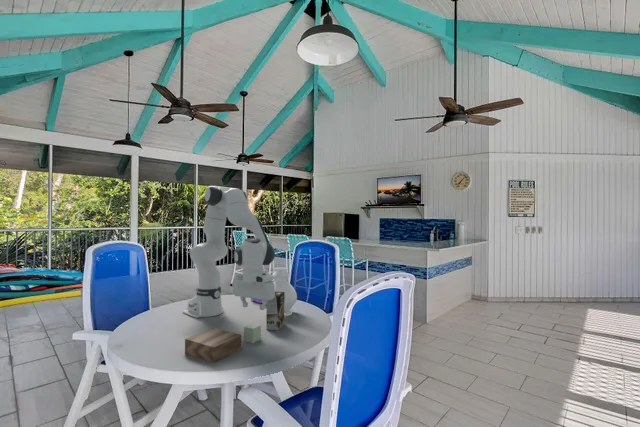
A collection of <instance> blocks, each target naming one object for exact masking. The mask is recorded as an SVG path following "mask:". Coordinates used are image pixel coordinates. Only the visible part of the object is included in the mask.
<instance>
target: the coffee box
mask: <svg viewBox="0 0 640 427" xmlns="http://www.w3.org/2000/svg"><path fill="white" fill-rule="evenodd" d="M284 293H285V292H275V297H274V298H273V299H271V300H267V304H266V314H265V315H266V318H265V319H266V325H265V326H266V328H265V329H266V330H269V331H271V330H272V331H279V330H280V329H282V327H283V326H284V325H285V317H284Z"/></svg>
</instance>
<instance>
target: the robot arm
mask: <svg viewBox="0 0 640 427" xmlns="http://www.w3.org/2000/svg"><path fill="white" fill-rule="evenodd" d="M204 201H205V203H206V204H207V205H208V206H207V209H206V212H205V217H204V222H203V228H202V231H203V232H204V234H205V238H206V239H205V240H206V241H205V242H202V243H198V244H196V245H194V246H193V247H191V249H190V251H189V257H190V259H191V261H192V262H193V264H195V265H196V268H197V272H198V288H196V289H195V292H196V294H195V295H194V296H193V297H192V298H191V299H189V300H188V302H187V308H186V309H183V310H182V313H183V314H185V315H187V316H191V317H193V318H195V319H197V318H208V317H215V316H218V315H219V316H220V315H221V314H223V312H224V307H223V304H222V303H223V302H222V295H221V293H222V287H221V273H220V271H219V269H217V265H216V262H217V261H220V260H222V259H223V258H225V257H226V256H227V254H228V252H229V251H228V246H227V245H226V242H225V229H226V224H227V220H228V221H229V222H230V223H231V224H232V225H234V226H236V227H240V228H244V229H247V230H249V231H250V232H251V233H253V235H254V237H249V238H248V237H247V238H246V239H244V240H243V243H242V244H241V245H238V246H237V247H236V248H235V249H234V251H233V262H234V263H235V264H236V265H237V266H239V267H242V274H237V275H236V276H235V277H234V285H233V295H234V296H235V297H238V298H239V297H240V301H241V303H242V307H243V308H248V306H249V302H247V299H246V298H248V299H251V298H255V299H262V302H263V303H262V304H260V305H259V310H261V311H264V310H266V306H267V304H266V303H267V300H271V299H273V298H274V297H275V287H274V283H273V282H274V277H273V275H272V274H271V273H269V272H266V271H265V269H264V266H269V265H270V264H272V262H273V261H274V259H275V257H276V254H275V248H274V247H273V246H272V244H271V242H270V241H269V238H268V236H267V234H266V232H265V230H264V227H263V225H262V223H261V220H260V219H259V217H258V216H257V215H255V214H254V213H253V212H252V211H251V209H250V208H249V203H248V196H247V194H246V192H245V191H244V190H242V189H240V188H237V187H229V186H217V185H209V186H208V187H207V188H206V189H205V192H204Z"/></svg>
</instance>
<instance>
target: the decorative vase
mask: <svg viewBox="0 0 640 427" xmlns="http://www.w3.org/2000/svg"><path fill="white" fill-rule="evenodd" d="M288 269H289V268H288V267H286V266H278V267H277V266H276V267H274V268H273V270H274V272H273V273H272V274H271V275H273V277H274V279H273V281H272V282H273V283H274V287H275V292H285V293H284V318H286V317H290V316H291V315H292V314H293V311H292V310H291V309H292V307H293V306H294V305H295V304H296V302H297V299H298V294H297V291H296V289H295V288H294V286H293V285H292V284H291V283H290V282H289V281H288V279H289V277H290V273H289V272H288ZM266 305H267V303H266Z"/></svg>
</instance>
